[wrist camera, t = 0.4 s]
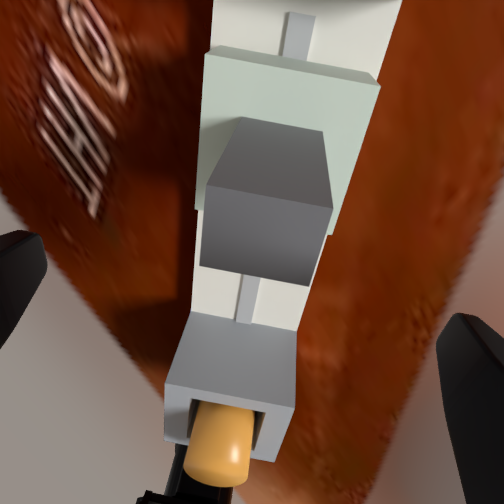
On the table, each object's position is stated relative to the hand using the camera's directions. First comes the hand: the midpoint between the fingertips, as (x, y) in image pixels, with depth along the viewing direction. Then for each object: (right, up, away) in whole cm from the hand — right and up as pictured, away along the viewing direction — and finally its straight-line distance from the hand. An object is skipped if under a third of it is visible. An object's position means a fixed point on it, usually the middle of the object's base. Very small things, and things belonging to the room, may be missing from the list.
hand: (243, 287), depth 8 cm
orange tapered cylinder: (-1, -8, +16) cm, 17 cm away
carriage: (+1, +6, +8) cm, 10 cm away
